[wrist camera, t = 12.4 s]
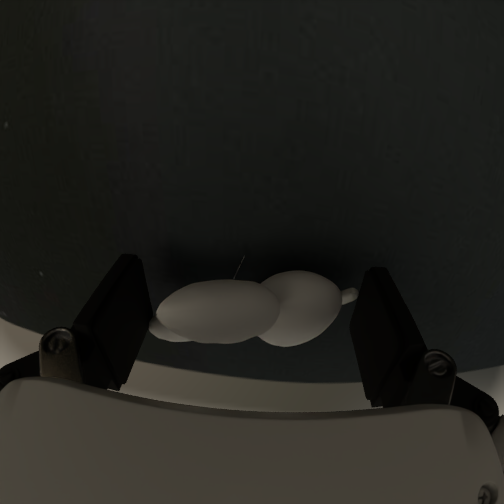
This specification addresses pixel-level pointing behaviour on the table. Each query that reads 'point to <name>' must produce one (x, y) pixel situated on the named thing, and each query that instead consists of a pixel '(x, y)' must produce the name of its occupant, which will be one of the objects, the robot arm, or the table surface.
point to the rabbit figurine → (251, 310)
